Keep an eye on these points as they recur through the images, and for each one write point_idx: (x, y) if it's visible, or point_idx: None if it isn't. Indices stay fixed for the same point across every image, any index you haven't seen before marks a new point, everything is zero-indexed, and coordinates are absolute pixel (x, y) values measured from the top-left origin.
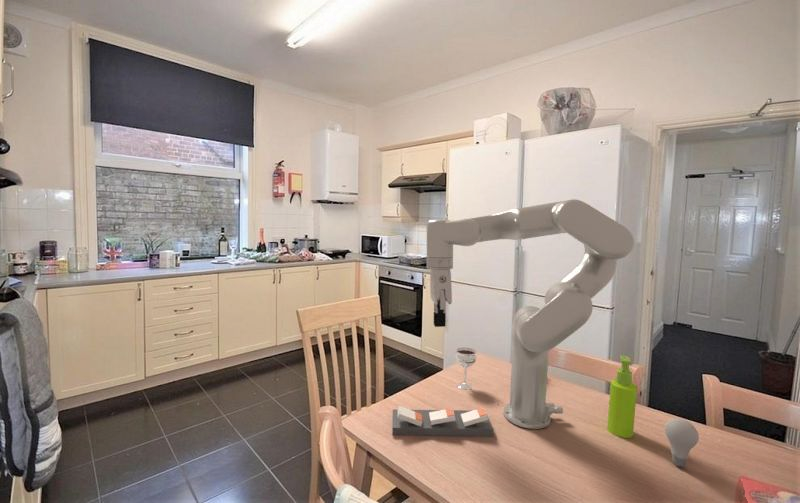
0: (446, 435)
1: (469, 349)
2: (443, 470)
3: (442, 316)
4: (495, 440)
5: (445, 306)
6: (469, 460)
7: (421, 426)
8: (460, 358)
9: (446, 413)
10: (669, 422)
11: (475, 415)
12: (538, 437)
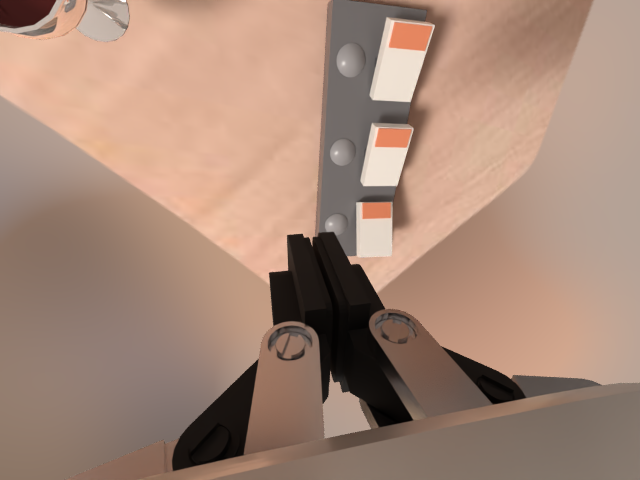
0: None
1: None
2: (484, 164)
3: (382, 308)
4: (431, 15)
5: (474, 384)
6: (476, 108)
7: (387, 200)
8: (72, 18)
9: (391, 146)
10: None
11: (409, 60)
12: None
